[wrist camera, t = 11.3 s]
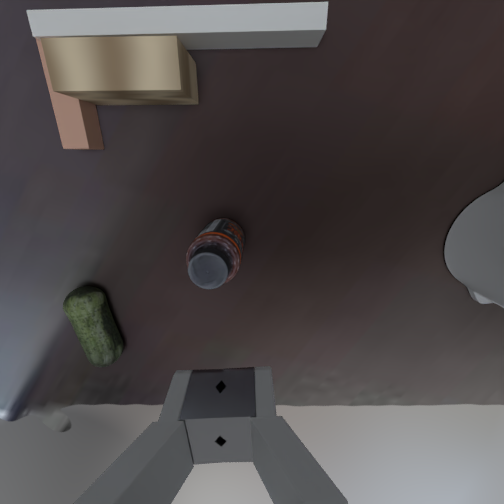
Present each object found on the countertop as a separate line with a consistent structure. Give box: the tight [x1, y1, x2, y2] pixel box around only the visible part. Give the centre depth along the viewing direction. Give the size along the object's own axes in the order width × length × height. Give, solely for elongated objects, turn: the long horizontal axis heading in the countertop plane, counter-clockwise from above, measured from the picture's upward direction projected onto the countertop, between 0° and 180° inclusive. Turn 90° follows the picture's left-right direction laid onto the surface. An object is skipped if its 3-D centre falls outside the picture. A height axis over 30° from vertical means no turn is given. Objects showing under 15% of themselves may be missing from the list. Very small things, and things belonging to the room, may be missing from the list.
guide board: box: [26, 2, 328, 149], centre depth 27 cm, size 28×12×4 cm, turn 90°
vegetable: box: [63, 286, 123, 367], centre depth 39 cm, size 14×5×5 cm, turn 8°
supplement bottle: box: [186, 218, 245, 289], centre depth 30 cm, size 6×6×11 cm
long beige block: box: [40, 36, 199, 105], centre depth 26 cm, size 12×4×7 cm, turn 90°
